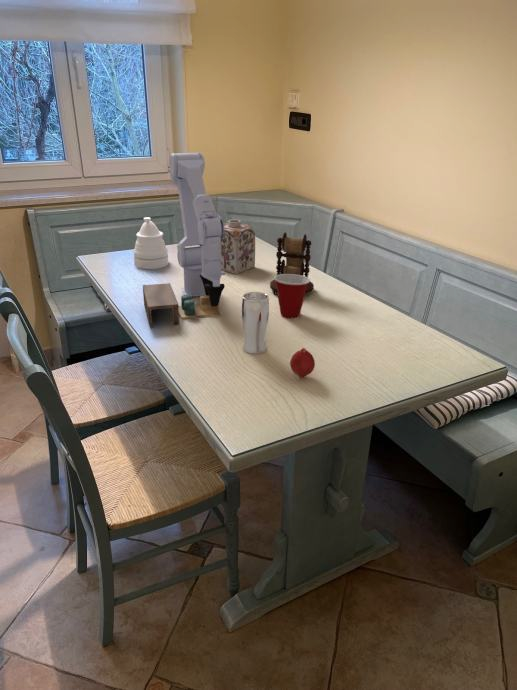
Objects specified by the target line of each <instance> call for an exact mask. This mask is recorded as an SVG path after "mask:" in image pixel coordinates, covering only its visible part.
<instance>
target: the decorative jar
mask: <svg viewBox="0 0 517 690" xmlns="http://www.w3.org/2000/svg"><path fill="white" fill-rule="evenodd" d="M223 224H224V234H223V236H222V237H221V236H220V237H221V271H224V272H225V273H226V272H227V273H231V274H235V275H239V274H241V273H243V272H246V271H248V270H251V269H253V268H255V266H256V265H255V264H256V232H255V230H254V229H253V228H252V227H250V225H249V224H245V223H242V222H241V220H240V219H229V220H228V221H227V223H223Z"/></svg>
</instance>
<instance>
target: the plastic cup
mask: <svg viewBox="0 0 517 690" xmlns="http://www.w3.org/2000/svg"><path fill="white" fill-rule="evenodd" d="M276 275H277V274H276ZM276 275H275V276H274V277H273V280H275V281H276V286H277V292H278V293H277V292H276V293H277V299H278V306H279V311H280V312H279V313H280V316H281V317H283V318H286V319H296V318H297V319H298V317H300V314H301V311H302V307H303V303H304V300H305V295H306V294H305V292H306V289H307V286H308V283H309V282H311V278H310V277H309V276H308V277H305V275H303V276H302V275H296V274H280V275H277V276H276Z"/></svg>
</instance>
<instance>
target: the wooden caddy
mask: <svg viewBox="0 0 517 690" xmlns="http://www.w3.org/2000/svg"><path fill="white" fill-rule="evenodd" d="M142 293H143V296H142V297H143V307H144V310H145V314H146V318H147V322H148V327H149V328H150V329H152V328H153V318H152V310H159V309H160V310H161V309H172V319H173V320H172V321H173V325H174V326H179V325H180V315H179V311H178V307H179V306H180V305H179V302H178V300H177V296H176V294H175V292H174V290H173V287H172V284H171V283H170V282H169V283H168V282H167V283H155V284H143V285H142Z"/></svg>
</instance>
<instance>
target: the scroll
mask: <svg viewBox="0 0 517 690" xmlns="http://www.w3.org/2000/svg"><path fill="white" fill-rule="evenodd" d="M276 243H277V251H276V253H275V254H276V258H277V260H276V267H275V269H276V275H275V276H277V275H280V274H296V275H302V276H305V277H308V278H309V273H310V260H311V250H310V248H311V246H312V241H311V239H309V240H308V237H307V234H306V233H304V234H303V238H297V237H288V236H287V232H283V234H282V237H278V238H277V239H276ZM282 251H283V252H284V253H283V252H282ZM282 258H285V259H286V260H285V259H282ZM281 259H282V260H281ZM269 287H270V289H271V291H272V293H273V295H274V296H275V295H276V294H278V292H277V286H276V281H275V279H273V280H271V281H270V283H269ZM314 287H315V285H314V282H312V281H310V282H309V283H308V286H307V289H306V292H305V295H307V294H310V293H312V292H313V291H314Z"/></svg>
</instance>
